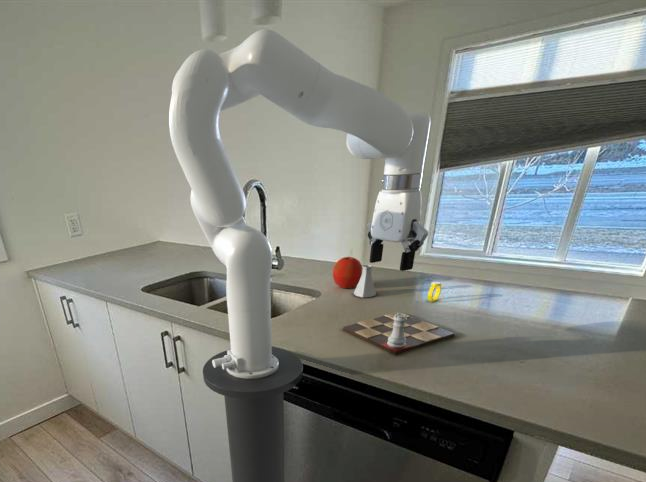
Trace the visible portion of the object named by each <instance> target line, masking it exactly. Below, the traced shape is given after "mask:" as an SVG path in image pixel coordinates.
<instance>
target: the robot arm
mask: <svg viewBox="0 0 646 482" xmlns="http://www.w3.org/2000/svg"><path fill="white" fill-rule="evenodd" d="M258 96H262V97H263V98H265V99H267V100H268V101H270V102H271V103H273V104H275V105H276V106H278V107H279V108H281V109H283V110H284V111H286V112H287V113H288V114H290V115H292V117H293V116H294V117H295V118H297V119H298V120H300V121H301V122H302V123H304V124H307V125H310V126H313V127H317V128H323V129H324V128H325V129H332V130H337V131H341V132H344V133H347V134H346V138H345V142H346V148H347V150H348V152H349V153H350V155H352V156H353V157H354V158H357V159H360V160H376V159H385V161H384V162H385V163H384V169H383V177H382V179H381V183H382V186H381V190H379V192H378V194H377V197H376V201H375V205H374V210H373V213H372V220H370V221H369V222H368V223H366V231H367V238H368V239H369V245H370V251H369V263H370V264H373V263H380V262H381V261H382V260H383V254H384V253H383V252H384V243H383V242H384V241H385V242H390V243H401V245H402V247H403V250H404V251H402V252H401V257H400V264H399V271H400V272H405V271H410V270H412V269H413V268H414V264H415V263H414V262H415V257H416V252H418V251H419V250H420V248H421V247H422V246H423V245H424V242H425V241H426V239H427V238H428V236H429V231H428V230H427V229H426V228H425V227H424V226H423V225H421V215H422V190H421V185H422V179H423V171H424V165H425V158H426V155H427V154H426V153H427V148H428V147H427V146H428V140H429V135H430V129H431V116H430V114H428V113H426V112H414V113H409V112H407V111H406V109H404V108H403V107H402V106H401V105H399V104H398V103H397V102H396V101H394V100H393V99H391V98H390V97H388V96H387V95H386V94H384V93H383V92H381V91H379V90H377V89H375V88H373V87H370V86H369V85H366V84H363V83H360V82H358V81H356V80H353V79H351V78H348V77H346V76H344V75H343V76H342V75H340V74H337V73H334V72H333V71H331V70H330V69H328V68H327V67H325V66H324V65H322V64H321V63H320V62H318V61H317V60H315V59H314V58H313V57H312V56H310V55H309V54H307V53H306V52H305V51H303V50H302V49H300V48H299V47H297V46H296V45H295V44H294V43H292V42H291V41H289V40H288V39H287V38H285V37H284V36H283V35H281V34H279V33H278V32H276V31H275V30H272V29H268V28H262V29H258V30H257V31H255V32H253V33H252V34H250V35H249V36H248V37H246V39H244V41H242V42H241V44H238V45H237V46H235V47H233V48H231V49H229V50H226V51H224V52H221V53H220V54H218V53H216V52H215V51H214V50H211V49H207V48H205V49H203V48H202V49H199V50H196V51H194V52H193V53H191V54H190V55H188V57H187V58H186V59H185V60H184V62H183V63H181V66H180V68H179V69H178V70H177V72H176V73H175V75H174V77H173V80H172V84H171V96H170V103H169V111H168V125H169V126H168V127H169V128H168V129H169V136H170V140H171V144H172V148H173V151H174V154H175V156H176V158H177V160H178V163H179V166H180V167H181V169H182V172H183V174H184V176H185V178H186V180H187V182H188V183H187V184H188V185H189V188H190V189H191V191H190V196H189V197H190V201H189V202H190V207H191V209H192V212H193V214H194V217H195V219H196V220H197V222H198V224H199V227H200V228H201V230H202V232H203V234H204V237H205V238H206V240H207V242H208V244H209V246H210V248H211V250H212V252H213V253H214V255H215V256H216V258H217V259H218V260H219V261H220V263H222V264H223V265H224V266H225V267H226V282H225V284H226V285H225V288H226V289H225V292H226V294H225V295H226V307H227V317H228V318H227V319H228V329H229V340H230V341H229V344H230V349H231V350H230V349H227V350H228V351H227V355H225V356H224V357H223V358H218V359H214V360H212V364H213V367H214V368H216V367H220V366H222V369H223V370H224V369H226V370H227V372H228V373H229V374H231V375H233V376H235V377H238V378H244V379H256V378H262V377H266V376H268V375H271V374H272V373H274V372H275V371H276V370H277V369H278V366H279V362H278V359H277V358H276V357H275V356H273V355H272V347H273V346H272V345H273V344H272V311H271V310H272V309H271V276H272V268H273V248H272V245H271V243H270V241H269V239H268V238H267V236H266V235H265V234H264V233H263V232H262V231H260V230H259V229H257V228H254V227H252V226H249V225H248V223H247V221H246V219H245V217H244V215H245V213H246V209H247V198H246V194H245V192H244V189H243V187H242V185H241V183H240V181H239V179H238V177H237V173H236V172H235V170H234V168H233V165H232V162H231V161H230V158H229V156H228V153H227V151H226V148H225V146H224V142H223V140H222V137H221V133H220V126H219V121H220V113H221V112H222V111H225V110H228V109H230V108H233V107H236V106H238V105H241V104H243V103H245V102H248V101H250V100H252V99H254V98H257V97H258Z"/></svg>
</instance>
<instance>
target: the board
mask: <svg viewBox="0 0 646 482" xmlns="http://www.w3.org/2000/svg"><path fill="white" fill-rule="evenodd" d="M397 313H400V315H401V313H402V312H399V311H394V312H390V313H387V314H384V315H382V316H379V317H378V316H377V317H375V318H369V319H365V320H361V321H357V322H356V323H352V324H349V325H346V326H343V327H342V330H343V331H344V332H346V333H348V334H351V336H354V337H356V338H358V339H360V340H363V341H365V342H367V343H369V344H371V345H373V346H375V347H378V348H379V349H381V350H383V351H385V352H388V353H390V354H392V355H394V356H397V355H400V354H404V353H407V352H410V351H414V350H417V349H420V348H423V347H426V346H430V345H433V344H436V343H439V342H443V341H445V340H448V339H451V338H454V337H455V335H456V332H453V331H450V330H447V329H444V328H442V327H440V326H439V325H436V324H433V323H430V322H426V321H425V320H424V321H422V320H419V319H417V318H414V317H412V316H410V315H408V314H406V318H407V320H406V321H405V326H404V335H405V338H406V342H405V343H406V345H405V346H404V347H402V348H393V347H390V346H389V345H388V344H387V342H388V337H390V335H391V334H392V331H393V327H394V325H393V323H394V320H393V317H394V316H395V314H397ZM404 314H405V313H404ZM404 314H403V315H404Z"/></svg>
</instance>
